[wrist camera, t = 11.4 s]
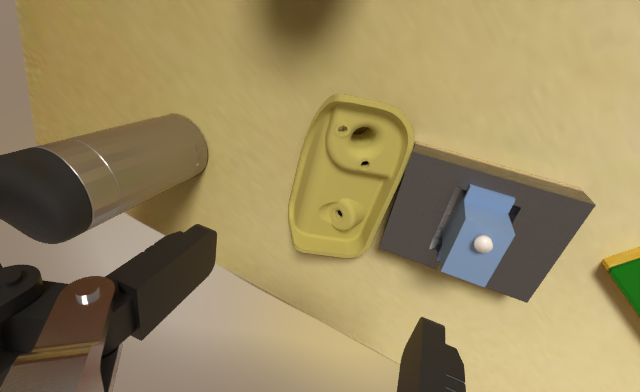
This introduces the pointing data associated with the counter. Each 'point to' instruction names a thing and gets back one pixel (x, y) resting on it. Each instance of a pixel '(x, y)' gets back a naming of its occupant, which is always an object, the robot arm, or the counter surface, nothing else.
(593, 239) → the counter surface
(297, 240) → the plastic component
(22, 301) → the robot arm
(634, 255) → the dish sponge
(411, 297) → the counter surface
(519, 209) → the grey hollow block
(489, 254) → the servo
